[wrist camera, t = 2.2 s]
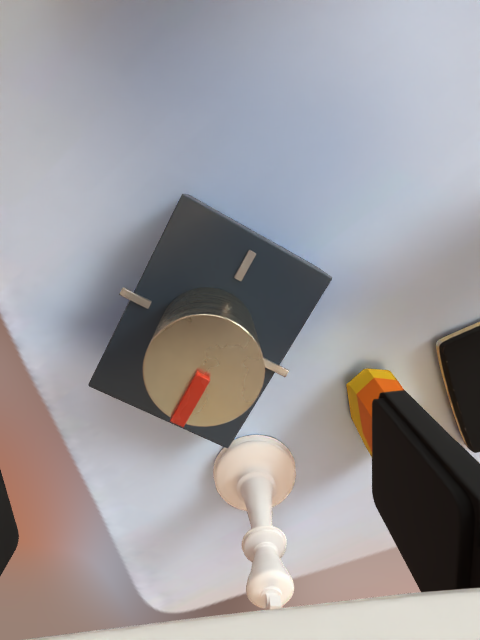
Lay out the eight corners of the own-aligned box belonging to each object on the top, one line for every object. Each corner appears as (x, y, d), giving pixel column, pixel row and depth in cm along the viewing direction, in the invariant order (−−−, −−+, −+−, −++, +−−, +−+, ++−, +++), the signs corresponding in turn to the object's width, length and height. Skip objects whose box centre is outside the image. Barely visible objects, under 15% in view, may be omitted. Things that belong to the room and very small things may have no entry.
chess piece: (298, 434, 25) (350, 587, 15) (291, 504, 26) (334, 684, 16) (214, 433, 24) (212, 588, 15) (211, 504, 26) (208, 687, 16)
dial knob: (186, 269, 18) (175, 294, 14) (272, 314, 19) (288, 352, 15) (143, 352, 19) (120, 400, 15) (226, 391, 20) (229, 449, 16)
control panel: (178, 188, 20) (171, 187, 17) (326, 271, 22) (343, 283, 19) (95, 358, 23) (76, 383, 20) (234, 422, 24) (236, 455, 21)
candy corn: (334, 368, 23) (390, 452, 16) (384, 351, 23) (466, 426, 16) (361, 454, 25) (423, 567, 18) (408, 438, 25) (492, 545, 17)
